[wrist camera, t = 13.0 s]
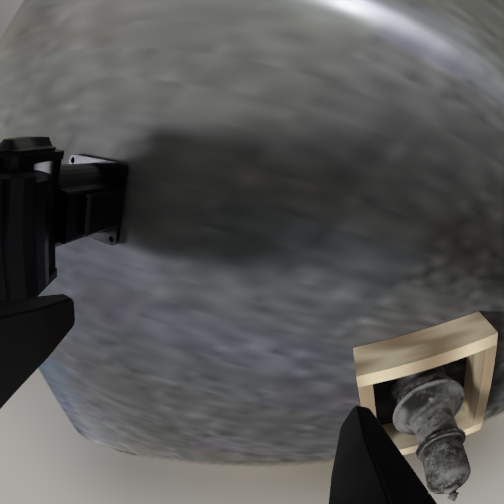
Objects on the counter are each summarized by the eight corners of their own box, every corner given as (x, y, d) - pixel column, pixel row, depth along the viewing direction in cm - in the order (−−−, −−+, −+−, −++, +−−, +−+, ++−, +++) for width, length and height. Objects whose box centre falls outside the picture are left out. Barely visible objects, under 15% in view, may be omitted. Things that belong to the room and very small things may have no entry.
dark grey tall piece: (435, 406, 20) (465, 514, 9) (377, 405, 21) (388, 526, 10) (461, 353, 19) (518, 462, 7) (400, 350, 20) (436, 480, 8)
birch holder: (366, 434, 22) (368, 462, 19) (352, 347, 20) (356, 376, 17) (469, 405, 19) (480, 429, 16) (478, 311, 18) (498, 332, 14)
